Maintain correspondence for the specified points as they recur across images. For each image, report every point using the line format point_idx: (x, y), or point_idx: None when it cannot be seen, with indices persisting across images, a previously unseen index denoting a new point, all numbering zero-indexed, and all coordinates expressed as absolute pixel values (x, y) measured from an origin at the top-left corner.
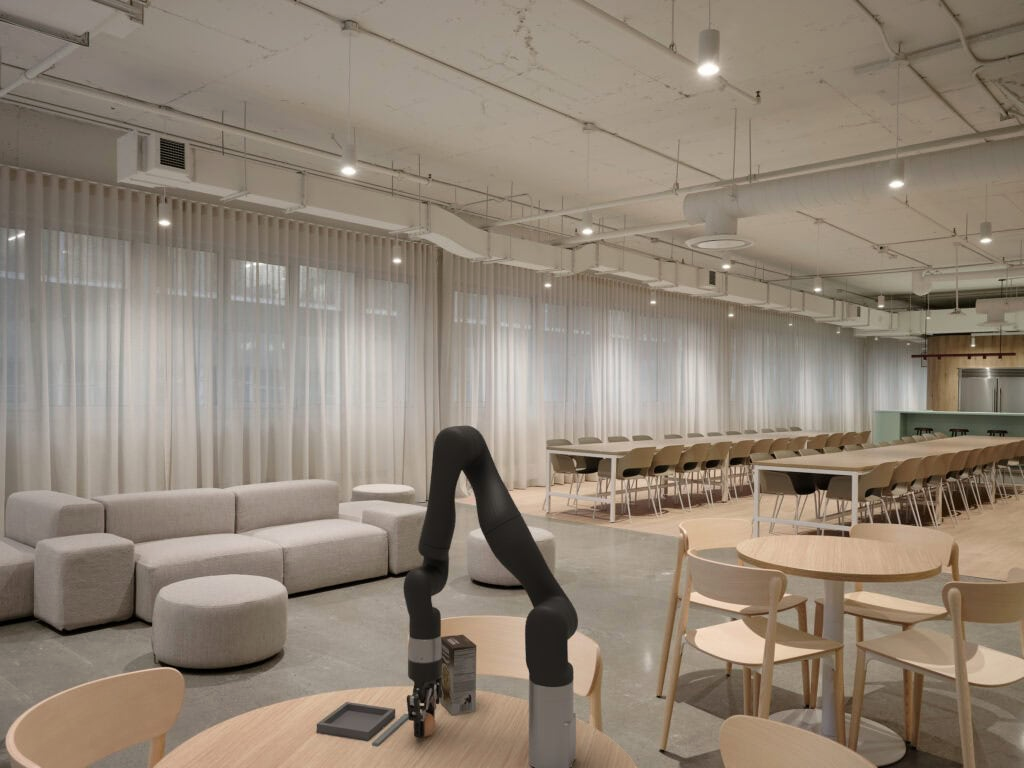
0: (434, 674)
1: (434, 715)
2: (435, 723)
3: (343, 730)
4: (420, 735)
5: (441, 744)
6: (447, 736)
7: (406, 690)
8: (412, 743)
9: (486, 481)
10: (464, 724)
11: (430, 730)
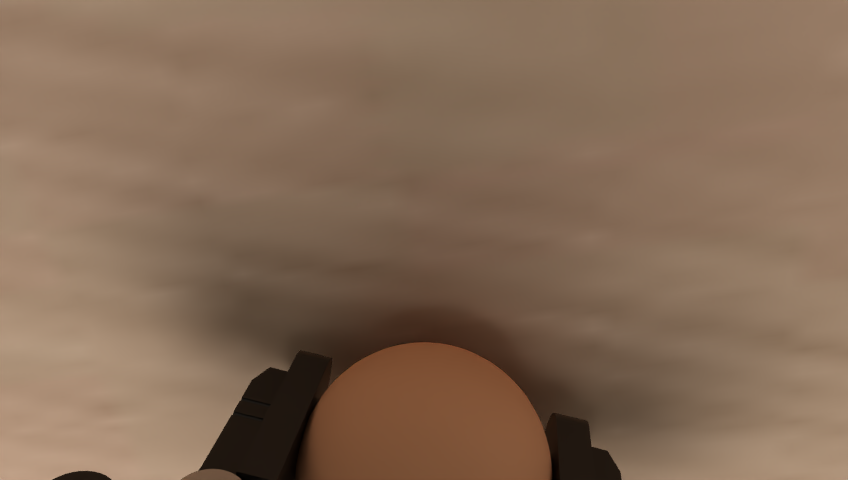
0: None
1: (266, 427)
2: (415, 380)
3: None
4: (607, 457)
5: (627, 213)
6: (422, 179)
7: None
8: None
9: None
10: (82, 35)
11: (516, 391)
